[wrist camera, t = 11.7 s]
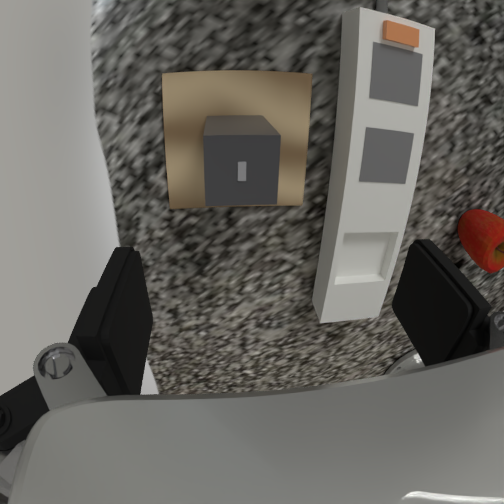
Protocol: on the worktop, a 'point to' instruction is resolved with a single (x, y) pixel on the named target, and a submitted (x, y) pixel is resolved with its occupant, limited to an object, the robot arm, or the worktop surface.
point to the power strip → (372, 159)
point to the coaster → (233, 103)
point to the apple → (483, 238)
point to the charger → (240, 160)
